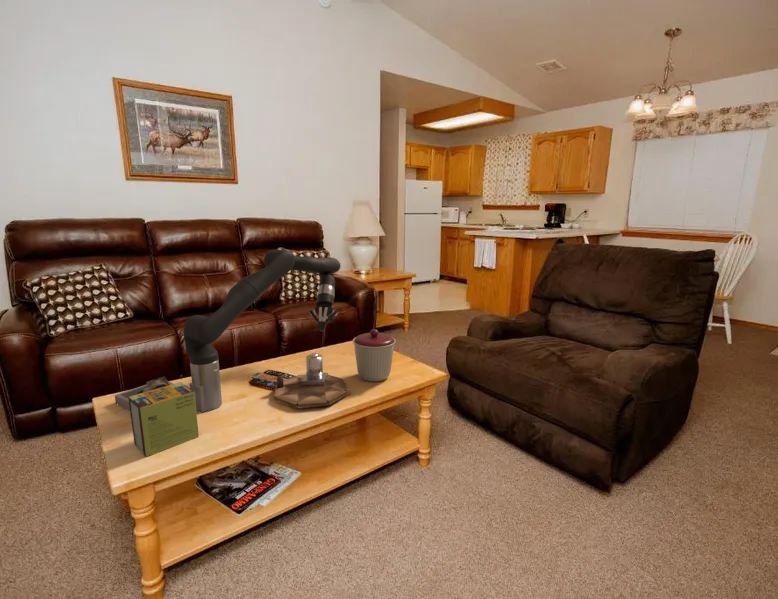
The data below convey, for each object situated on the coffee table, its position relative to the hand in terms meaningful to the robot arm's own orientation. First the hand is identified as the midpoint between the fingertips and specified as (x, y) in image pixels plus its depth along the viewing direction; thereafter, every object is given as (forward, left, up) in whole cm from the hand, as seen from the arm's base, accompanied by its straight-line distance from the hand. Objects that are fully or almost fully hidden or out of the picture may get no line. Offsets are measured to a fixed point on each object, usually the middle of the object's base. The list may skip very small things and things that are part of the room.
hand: (321, 330), depth 179 cm
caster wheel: (-57, +33, -19) cm, 68 cm away
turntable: (-20, -12, -18) cm, 29 cm away
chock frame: (-57, +33, -19) cm, 68 cm away
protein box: (-69, +2, -19) cm, 71 cm away
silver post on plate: (-14, -8, -16) cm, 23 cm away
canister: (+7, -23, -19) cm, 30 cm away
